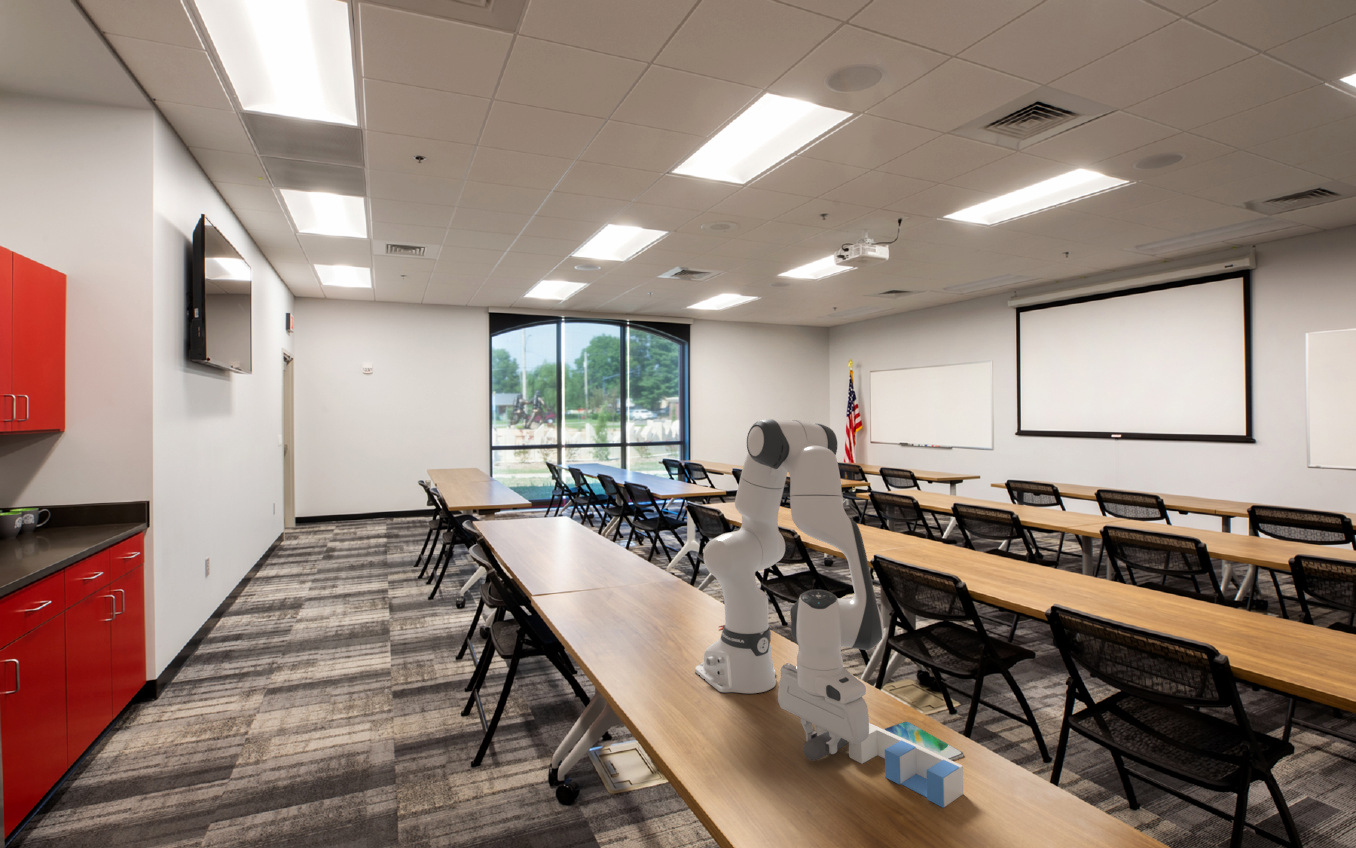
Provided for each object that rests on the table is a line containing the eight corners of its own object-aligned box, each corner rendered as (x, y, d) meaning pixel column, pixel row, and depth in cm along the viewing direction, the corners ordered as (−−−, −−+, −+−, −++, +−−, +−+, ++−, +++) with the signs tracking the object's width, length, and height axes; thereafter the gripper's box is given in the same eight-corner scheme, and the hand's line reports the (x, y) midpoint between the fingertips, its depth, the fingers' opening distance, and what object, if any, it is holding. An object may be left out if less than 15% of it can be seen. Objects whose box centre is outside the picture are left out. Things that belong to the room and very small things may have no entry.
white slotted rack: (815, 740, 128) (814, 715, 128) (835, 730, 132) (834, 706, 132) (943, 808, 105) (942, 777, 105) (963, 793, 109) (962, 764, 109)
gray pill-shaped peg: (799, 758, 119) (799, 740, 119) (838, 739, 126) (837, 722, 126) (813, 766, 116) (813, 747, 116) (852, 746, 123) (852, 728, 123)
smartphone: (939, 763, 118) (882, 728, 131) (939, 768, 118) (882, 732, 131) (965, 753, 121) (907, 720, 135) (965, 757, 121) (907, 724, 135)
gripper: (770, 664, 127) (771, 731, 127) (852, 698, 110) (853, 775, 110) (791, 656, 131) (792, 721, 131) (873, 689, 114) (874, 763, 114)
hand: (821, 746), depth 120 cm, fingers closed on gray pill-shaped peg, 4 cm apart
